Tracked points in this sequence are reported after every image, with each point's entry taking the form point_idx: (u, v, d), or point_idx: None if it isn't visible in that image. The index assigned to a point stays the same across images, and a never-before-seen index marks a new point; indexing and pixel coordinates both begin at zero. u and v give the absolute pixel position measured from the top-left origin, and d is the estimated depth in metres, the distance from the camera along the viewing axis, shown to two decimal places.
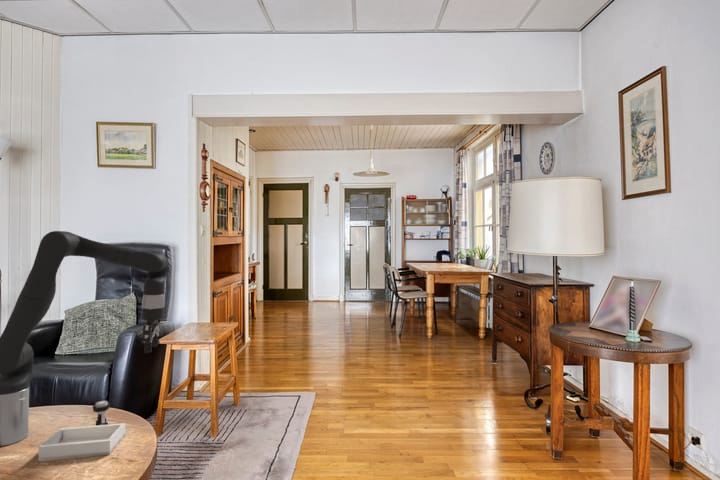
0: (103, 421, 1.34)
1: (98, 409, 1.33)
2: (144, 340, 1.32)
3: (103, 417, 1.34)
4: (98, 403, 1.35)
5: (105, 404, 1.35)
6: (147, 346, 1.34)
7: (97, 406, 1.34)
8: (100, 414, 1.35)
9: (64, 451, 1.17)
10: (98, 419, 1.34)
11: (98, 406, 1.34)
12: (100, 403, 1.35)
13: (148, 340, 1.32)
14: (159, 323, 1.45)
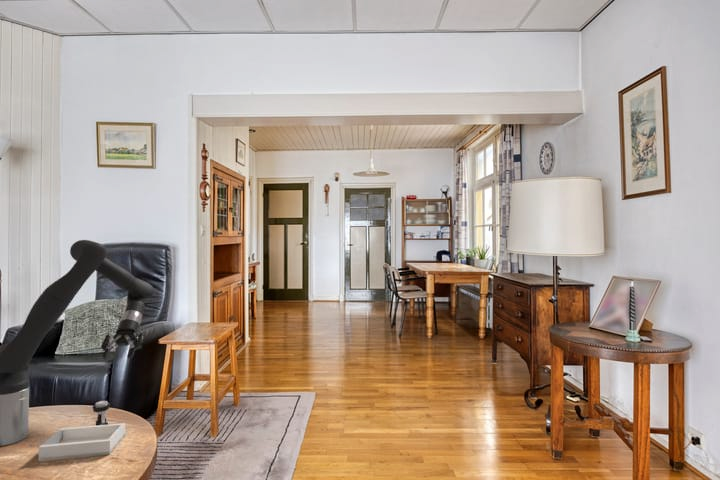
0: (103, 421, 1.34)
1: (98, 409, 1.33)
2: (139, 345, 1.51)
3: (103, 417, 1.34)
4: (98, 403, 1.35)
5: (105, 404, 1.35)
6: (133, 352, 1.49)
7: (97, 406, 1.34)
8: (100, 414, 1.35)
9: (64, 451, 1.17)
10: (98, 419, 1.34)
11: (98, 406, 1.34)
12: (100, 403, 1.35)
13: (140, 347, 1.52)
14: (110, 341, 1.52)
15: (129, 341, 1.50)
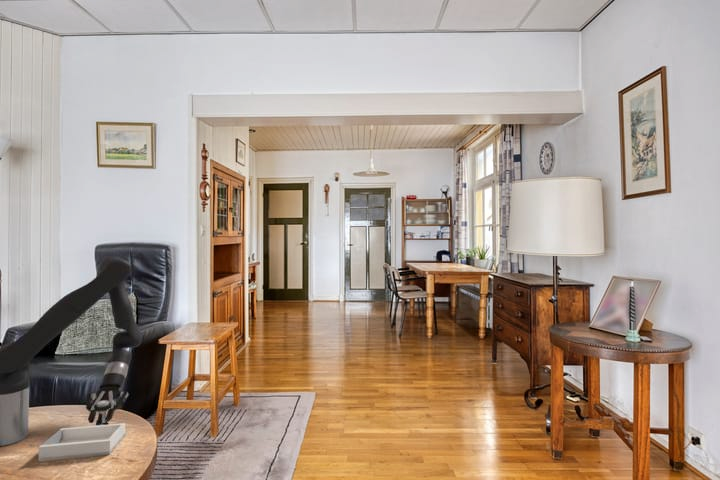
0: (103, 421, 1.34)
1: (99, 408, 1.33)
2: (119, 405, 1.37)
3: (104, 417, 1.34)
4: (99, 402, 1.35)
5: (106, 404, 1.35)
6: (112, 413, 1.36)
7: (98, 405, 1.34)
8: (101, 414, 1.35)
9: (64, 451, 1.17)
10: (99, 419, 1.34)
11: (99, 405, 1.34)
12: (101, 402, 1.35)
13: (120, 407, 1.38)
14: (93, 399, 1.39)
15: (110, 400, 1.37)
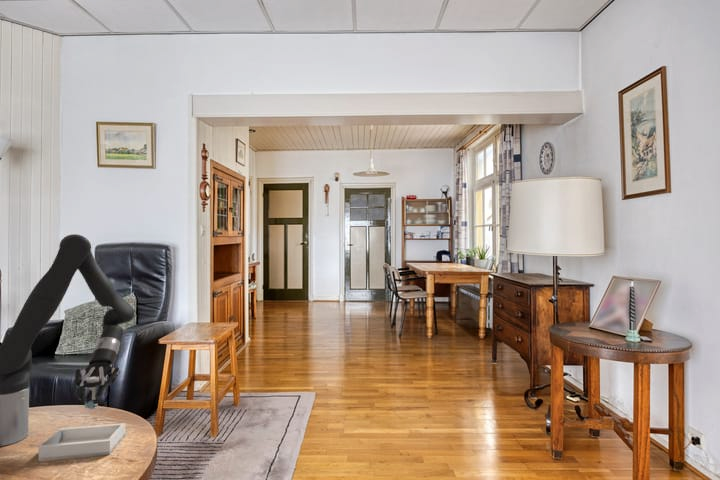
0: (93, 397, 1.27)
1: (89, 384, 1.26)
2: (110, 382, 1.30)
3: (94, 393, 1.27)
4: (89, 378, 1.27)
5: (97, 380, 1.28)
6: (103, 390, 1.28)
7: (88, 381, 1.26)
8: (91, 390, 1.27)
9: (64, 451, 1.17)
10: (88, 395, 1.27)
11: (89, 381, 1.26)
12: (91, 378, 1.27)
13: (111, 383, 1.31)
14: (82, 375, 1.31)
15: (101, 376, 1.30)
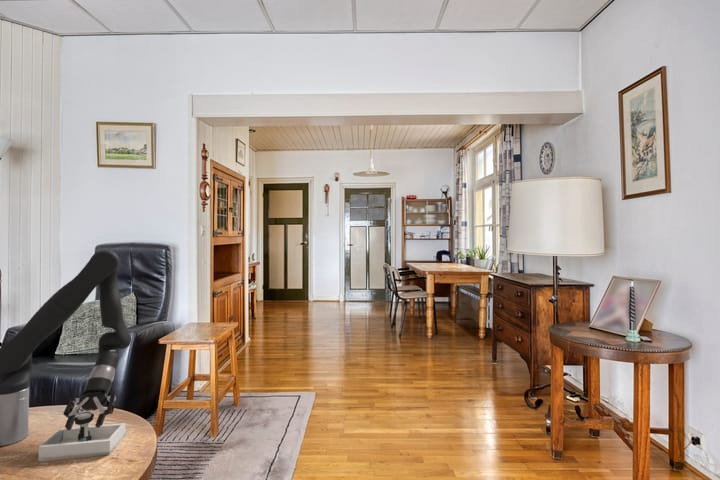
0: (86, 434, 1.23)
1: (80, 421, 1.22)
2: (111, 410, 1.27)
3: (86, 430, 1.23)
4: (80, 415, 1.23)
5: (88, 416, 1.24)
6: (103, 419, 1.25)
7: (79, 418, 1.22)
8: (83, 427, 1.23)
9: (64, 451, 1.17)
10: (80, 432, 1.23)
11: (80, 418, 1.22)
12: (83, 415, 1.23)
13: (112, 411, 1.27)
14: (76, 404, 1.28)
15: (98, 405, 1.26)
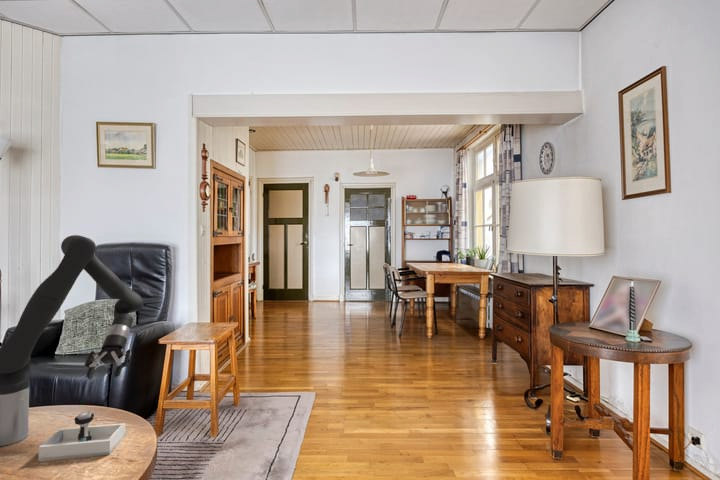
0: (86, 434, 1.23)
1: (80, 421, 1.22)
2: (127, 363, 1.40)
3: (86, 430, 1.23)
4: (81, 415, 1.23)
5: (88, 416, 1.24)
6: (120, 370, 1.38)
7: (79, 418, 1.22)
8: (83, 427, 1.23)
9: (64, 451, 1.17)
10: (80, 432, 1.23)
11: (80, 418, 1.22)
12: (83, 414, 1.23)
13: (128, 364, 1.40)
14: (95, 358, 1.41)
15: (116, 358, 1.39)
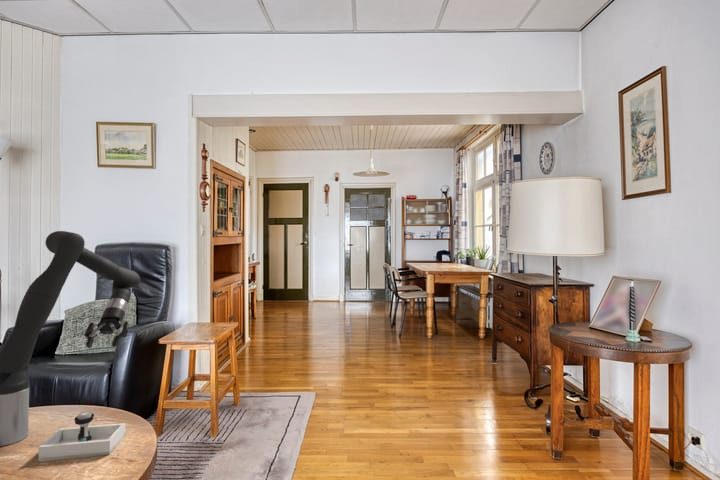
0: (86, 434, 1.23)
1: (80, 421, 1.22)
2: (125, 333, 1.47)
3: (86, 430, 1.23)
4: (81, 415, 1.23)
5: (88, 416, 1.24)
6: (118, 340, 1.45)
7: (79, 418, 1.22)
8: (83, 427, 1.23)
9: (64, 451, 1.17)
10: (80, 432, 1.23)
11: (80, 418, 1.22)
12: (83, 415, 1.23)
13: (125, 335, 1.48)
14: (94, 329, 1.48)
15: (114, 329, 1.46)
